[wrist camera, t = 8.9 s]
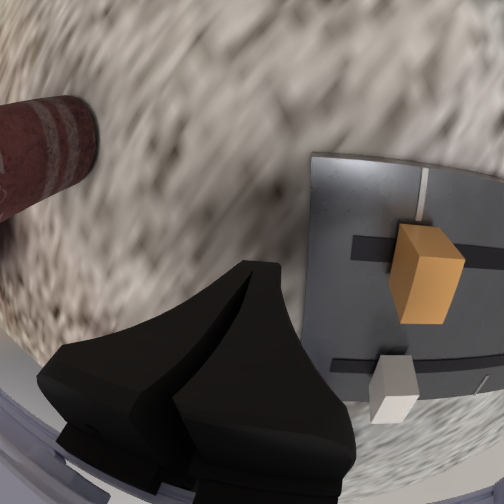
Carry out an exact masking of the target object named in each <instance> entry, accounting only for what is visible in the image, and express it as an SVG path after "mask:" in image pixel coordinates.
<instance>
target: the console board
mask: <svg viewBox="0 0 504 504" xmlns="http://www.w3.org/2000/svg"><path fill="white" fill-rule="evenodd" d="M400 224H410V225H421V226H430V227H439V228H440V229H441V230H442V231H443V233H444V234H445V235H446V236H447V237H448V239H449V240H450V241H451V242H452V243H453V245H454V246H455V247H456V248H457V249H458V251H459V252H460V253H461V255H462V256H463V257H464V258H465V263H464V266H463V269H462V273H461V276H460V279H459V282H458V285H457V288H456V290H455V293H454V296H453V299H452V302H451V304H450V307H449V309H448V312H447V314H446V317H445V319H444V322H443V324H400V320H399V317H398V313H397V310H396V306H395V303H394V299H393V296H392V293H391V290H390V286H389V283H388V281H389V277H390V273H391V268H392V263H393V258H394V253H395V248H396V243H397V237H398V231H399V225H400ZM301 344H302V346H303V348H304V350H305V351H306V353H307V355H308V356H309V358H310V359H311V361H312V363H313V364H314V366H315V368H316V369H317V370H318V372H319V373H320V375H321V376H322V377H323V379H324V380H325V382H326V383H327V384H328V385H329V387H330V388H331V389H332V390H333V392H334V393H335V394H336V395H337V396H338V398H339V399H340V400H341V401H370V398H369V384H370V381H371V379H372V376H373V374H374V371H375V369H376V366H377V364H378V361H379V358H380V356H381V355H411V356H412V360H413V365H414V369H415V374H416V378H417V383H418V388H419V393H420V396H419V397H418V399H417V400H426V399H438V398H448V397H457V396H465V395H472V394H473V395H476V394H479V393H485V392H491V391H496V390H501V389H504V179H503V178H499V177H495V176H490V175H486V174H482V173H477V172H472V171H467V170H462V169H457V168H452V167H446V166H441V165H435V164H429V163H422V162H415V161H408V160H400V159H392V158H384V157H374V156H364V155H352V154H339V153H322V152H312V156H311V200H310V226H309V246H308V263H307V278H306V292H305V304H304V316H303V327H302V337H301Z"/></svg>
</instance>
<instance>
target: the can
mask: <svg viewBox="0 0 504 504" xmlns="http://www.w3.org/2000/svg"><path fill="white" fill-rule="evenodd" d="M96 145H97V139H96V128H95V124H94V121H93V117H92V116H91V114H90V112H89V111H88V109H87V107H85V106H84V105H83V104H82V103H81V102H80V101H79V100H77V99H76V98H75V97H71V96H66V95H64V96H55V97H47V98H40V99H33V100H27V101H21V102H16V103H11V104H6V105H1V106H0V223H1V222H3V221H5V220H6V219H8V218H10V217H12V216H13V215H15V214H17V213H19V212H21V211H22V210H24V209H26V208H28V207H30V206H32V205H34V204H36V203H38V202H40V201H42V200H44V199H46V198H48V197H50V196H52V195H54V194H56V193H58V192H60V191H62V190H64V189H66V188H69V187H71V186H73V185H75V184H77V183H79V182H80V181H81V180H82V179H83V177H84V176H85V175H86V174H87V172H88V170H89V168H90V166H91V164H92V161H93V159H94V157H95V151H96Z"/></svg>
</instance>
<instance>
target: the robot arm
mask: <svg viewBox="0 0 504 504" xmlns="http://www.w3.org/2000/svg"><path fill="white" fill-rule="evenodd" d="M37 383H38V386H39V388H40V390H41V392H42V393H43V394H44V396H45V397H46V398H47V400H48V401H49V402H50V403H51V405H52V406H53V407H54V408H55V409H56V410H57V412H58V413H59V414H60V415H61V416H62V417H63V418H64V420H65V421H66V422H67V424H66V426H65V427H64V429H63V430H62V432H61V433H60V432H58V431H57V430H55V429H53V428H52V427H51V426H49V425H48V424H46V423H45V422H43V421H42V420H40V419H39V418H37V417H36V416H35V415H33V414H32V413H30V412H29V411H27V410H26V409H25V408H24V407H22V406H21V405H20V404H19V403H17V402H16V401H15V400H13V399H12V398H11V397H10V396H9V395H7V394H6V393H5V392H4V391H3V390H2V389H0V504H107V503H108V501H109V499H110V497H111V496H110V494H109V493H107V492H105V491H104V490H102V489H100V488H99V487H97V486H96V485H94V484H92V483H91V482H90V481H88V480H87V479H85V478H84V477H83V476H81V475H80V474H79V473H78V472H76V471H75V470H73V469H72V468H70V467H69V466H67V465H66V461H65V459H66V460H67V461H69V462H70V463H72V464H74V465H75V466H77V467H79V468H80V469H82V470H84V471H86V472H87V473H89V474H91V475H92V476H94V477H96V478H98V479H100V480H102V481H104V482H105V483H107V484H109V485H111V486H113V487H115V488H117V489H119V490H122V491H124V492H126V493H128V494H130V495H132V496H135V497H137V498H139V499H142V500H144V501H146V502H149V503H152V504H337V503H338V497H339V496H340V495H341V490H342V480H343V478H344V476H345V475H346V474H347V473H348V471H349V470H350V469H351V468H352V466H353V465H354V463H355V460H356V444H355V437H354V432H353V428H352V424H351V421H350V417H349V414H348V411H347V408H346V406H345V404H344V403H343V402H342V401H341V400H340V399H339V398H338V396H337V395H336V394H335V393H334V392H333V390H332V389H331V388H330V387H329V385H328V384H327V383H326V382H325V380H324V379H323V377H322V376H321V375H320V373H319V372H318V370H317V369H316V368H315V366H314V364H313V363H312V361H311V359H310V358H309V356H308V355H307V353H306V351H305V350H304V348H303V346H302V344H301V342H300V340H299V338H298V336H297V334H296V332H295V330H294V328H293V325H292V323H291V321H290V318H289V315H288V312H287V309H286V306H285V303H284V300H283V295H282V291H281V265H280V264H279V263H275V262H261V261H248V260H243V261H241V262H240V263H238V264H237V265H236V266H234V267H233V268H232V269H231V270H229V271H228V272H227V273H225V274H224V275H223V276H221V277H220V278H219V279H217V280H216V281H215V282H213V283H212V284H211V285H209V286H208V287H206V288H205V289H203V290H202V291H200V292H199V293H197V294H196V295H194V296H193V297H191V298H190V299H188V300H187V301H185V302H183V303H182V304H180V305H178V306H176V307H175V308H173V309H171V310H169V311H167V312H165V313H163V314H161V315H159V316H157V317H155V318H152V319H150V320H148V321H145V322H143V323H140V324H138V325H136V326H133V327H131V328H128V329H125V330H122V331H119V332H116V333H112V334H109V335H106V336H102V337H98V338H95V339H90V340H85V341H80V342H75V343H71V344H65V345H62V346H61V347H60V348H59V349H58V350H57V352H56V353H55V354H54V355H53V356H52V358H51V359H50V360H49V361H48V362H47V364H46V365H45V366H44V367H43V368H42V370H41V371H40V372H39V374H38V375H37ZM428 504H504V477H503V478H502V479H500V480H499V481H498V482H496V483H495V484H494V485H493V486H490V487H487V488H484V489H481V490H478V491H475V492H472V493H469V494H465V495H462V496H458V497H454V498H450V499H446V500H442V501H438V502H434V503H428Z"/></svg>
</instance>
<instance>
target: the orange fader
mask: <svg viewBox="0 0 504 504" xmlns="http://www.w3.org/2000/svg"><path fill="white" fill-rule="evenodd" d="M464 263H465V258H464V257H463V256H462V255H461V253H460V252H459V251H458V249H457V248H456V247H455V246H454V245H453V243H452V242H451V241H450V240H449V239H448V237H447V236H446V235H445V234H444V233H443V231H442V230H441V229H440V228H439V227H430V226H421V225H410V224H400V225H399V231H398V237H397V243H396V248H395V253H394V258H393V263H392V268H391V273H390V277H389V281H388V283H389V286H390V290H391V293H392V296H393V299H394V303H395V306H396V310H397V313H398V317H399V320H400V324H443V322H444V319H445V317H446V314H447V312H448V309H449V307H450V304H451V302H452V299H453V296H454V293H455V290H456V288H457V285H458V282H459V279H460V276H461V273H462V269H463V266H464Z"/></svg>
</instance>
